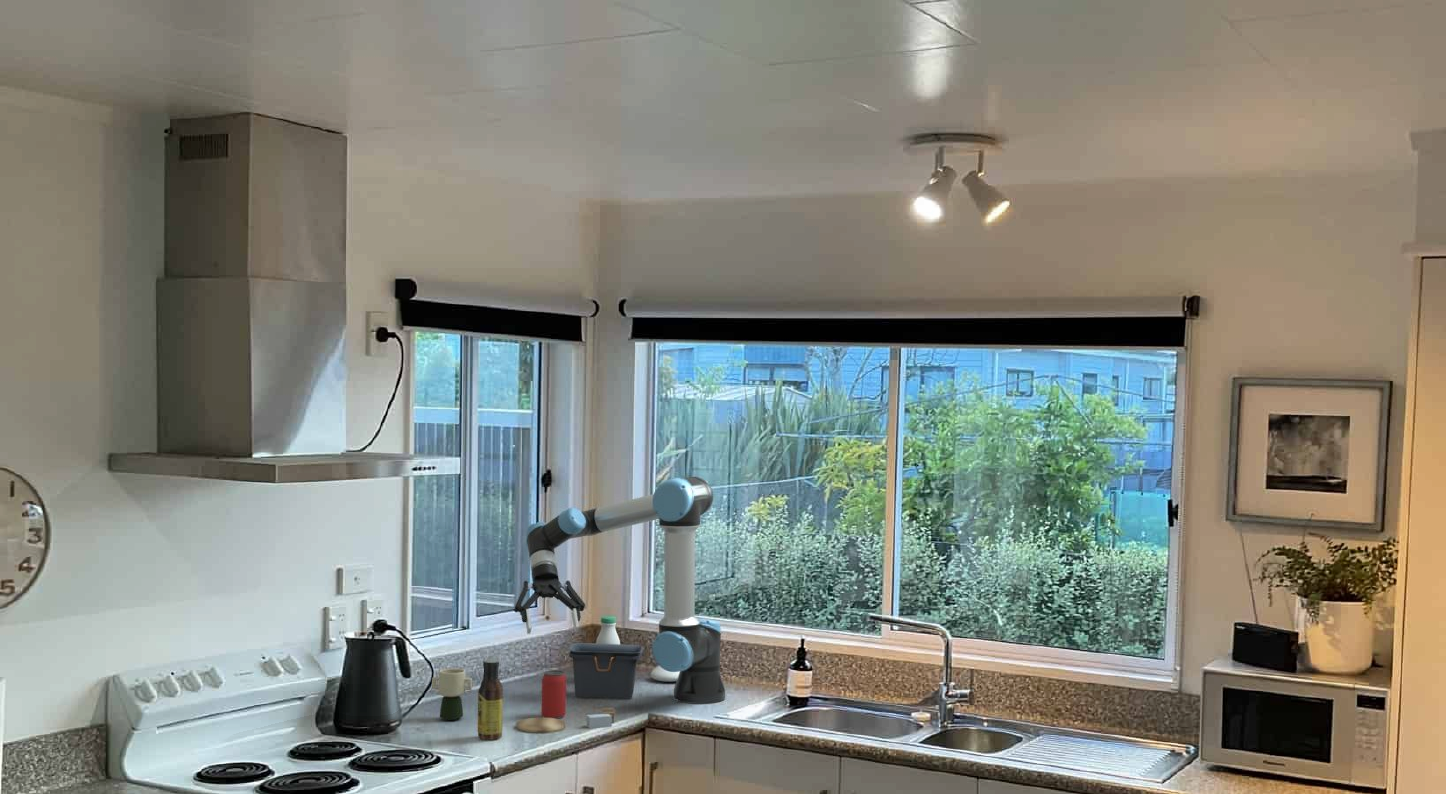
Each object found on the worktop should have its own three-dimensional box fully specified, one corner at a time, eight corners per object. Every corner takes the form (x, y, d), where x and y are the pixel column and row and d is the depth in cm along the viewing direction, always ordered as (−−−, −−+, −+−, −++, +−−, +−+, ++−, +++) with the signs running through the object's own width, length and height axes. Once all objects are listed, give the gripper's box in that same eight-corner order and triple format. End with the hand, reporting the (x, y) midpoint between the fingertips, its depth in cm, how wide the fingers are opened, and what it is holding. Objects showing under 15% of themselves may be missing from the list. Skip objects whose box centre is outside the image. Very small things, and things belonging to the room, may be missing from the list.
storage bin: (642, 691, 408) (643, 643, 408) (640, 703, 393) (641, 653, 393) (570, 690, 408) (571, 642, 408) (565, 702, 392) (566, 651, 392)
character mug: (474, 716, 372) (475, 668, 372) (468, 722, 365) (469, 673, 365) (434, 715, 373) (435, 667, 373) (427, 721, 366) (428, 672, 366)
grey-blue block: (608, 724, 367) (608, 713, 367) (611, 727, 364) (611, 715, 364) (586, 726, 365) (586, 714, 365) (589, 728, 362) (589, 717, 362)
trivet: (559, 719, 370) (559, 716, 370) (570, 731, 358) (570, 727, 358) (511, 722, 366) (511, 719, 366) (521, 734, 354) (521, 730, 354)
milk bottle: (594, 679, 423) (595, 614, 423) (619, 679, 424) (620, 614, 424) (594, 685, 416) (596, 618, 416) (620, 684, 417) (621, 619, 417)
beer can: (561, 719, 371) (562, 675, 371) (537, 718, 372) (538, 673, 372) (568, 714, 377) (569, 670, 377) (545, 712, 378) (546, 669, 378)
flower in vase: (657, 685, 417) (658, 602, 417) (645, 677, 428) (647, 597, 428) (697, 682, 422) (699, 601, 422) (685, 675, 433) (686, 596, 433)
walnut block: (602, 718, 373) (603, 707, 373) (614, 718, 374) (614, 707, 374) (602, 724, 367) (602, 712, 367) (613, 724, 368) (614, 712, 368)
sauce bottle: (480, 734, 353) (481, 657, 353) (504, 735, 353) (505, 657, 353) (474, 740, 346) (476, 662, 346) (499, 741, 346) (501, 662, 346)
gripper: (583, 577, 409) (593, 636, 395) (499, 577, 400) (507, 638, 386) (588, 561, 404) (598, 621, 390) (503, 562, 395) (511, 623, 381)
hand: (553, 630), depth 388 cm, fingers open, 13 cm apart
